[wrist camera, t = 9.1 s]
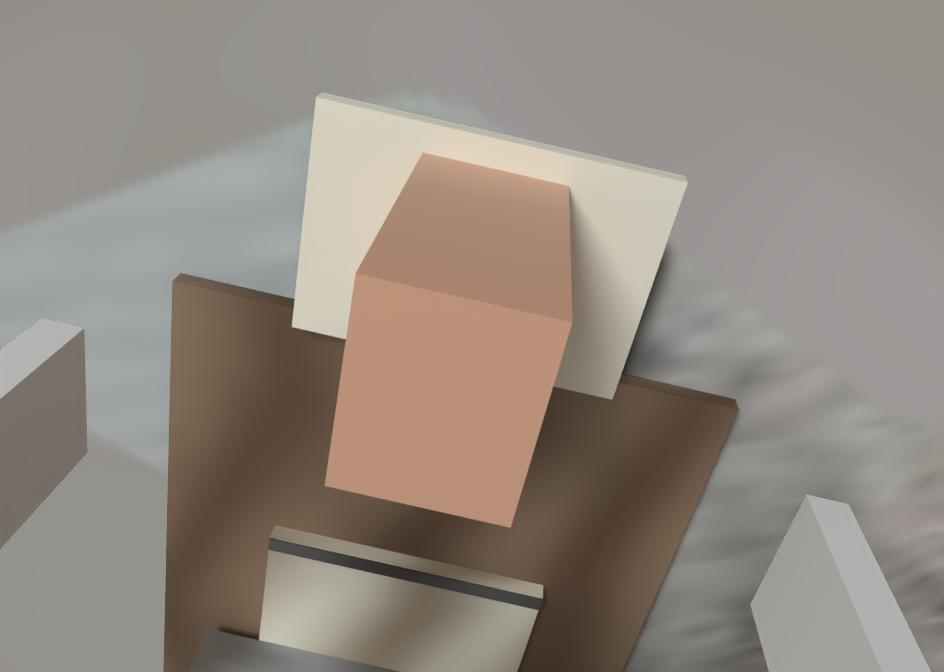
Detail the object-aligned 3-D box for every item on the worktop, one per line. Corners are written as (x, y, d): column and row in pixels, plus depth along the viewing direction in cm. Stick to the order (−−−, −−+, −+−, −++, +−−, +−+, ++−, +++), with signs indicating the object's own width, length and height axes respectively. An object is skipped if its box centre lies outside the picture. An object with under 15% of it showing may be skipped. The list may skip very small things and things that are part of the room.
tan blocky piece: (684, 175, 22) (750, 321, 14) (611, 389, 25) (632, 598, 18) (322, 92, 22) (193, 194, 14) (297, 317, 25) (182, 497, 17)
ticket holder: (734, 399, 26) (763, 482, 22) (571, 771, 35) (573, 873, 32) (180, 273, 25) (116, 336, 22) (169, 682, 35) (123, 774, 31)
